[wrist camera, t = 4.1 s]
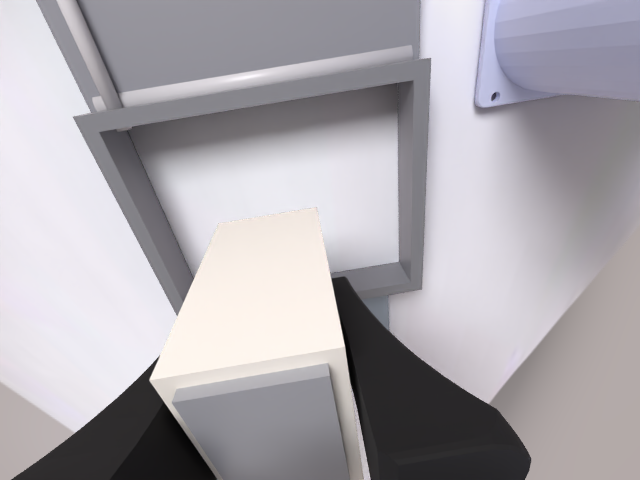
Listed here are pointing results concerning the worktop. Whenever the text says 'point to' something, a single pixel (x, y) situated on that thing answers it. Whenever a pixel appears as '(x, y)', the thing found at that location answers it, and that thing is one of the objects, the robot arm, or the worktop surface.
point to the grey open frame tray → (241, 94)
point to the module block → (263, 356)
